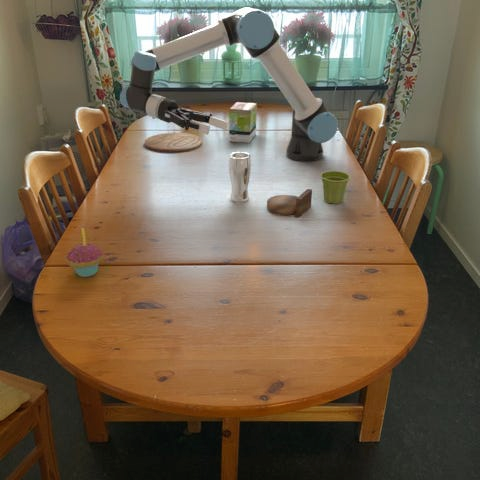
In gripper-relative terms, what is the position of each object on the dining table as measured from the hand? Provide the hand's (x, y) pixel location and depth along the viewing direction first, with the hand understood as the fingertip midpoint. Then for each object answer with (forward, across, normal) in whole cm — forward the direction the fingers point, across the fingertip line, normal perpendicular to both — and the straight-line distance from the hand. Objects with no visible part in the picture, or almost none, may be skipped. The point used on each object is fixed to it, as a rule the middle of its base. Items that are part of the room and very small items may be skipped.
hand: (218, 128), depth 162 cm
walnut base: (+30, +2, -17) cm, 34 cm away
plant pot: (+42, -10, -13) cm, 45 cm away
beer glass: (+14, +1, -20) cm, 24 cm away
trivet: (-38, -44, -24) cm, 63 cm away
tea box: (-14, -65, -16) cm, 68 cm away
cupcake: (-1, +58, -31) cm, 66 cm away
